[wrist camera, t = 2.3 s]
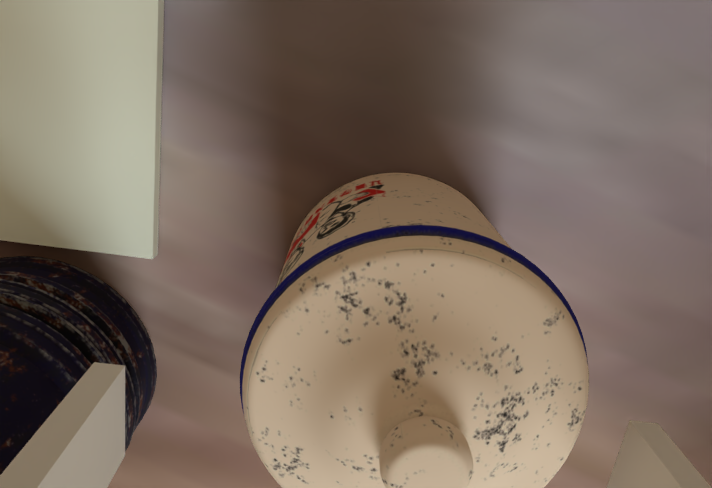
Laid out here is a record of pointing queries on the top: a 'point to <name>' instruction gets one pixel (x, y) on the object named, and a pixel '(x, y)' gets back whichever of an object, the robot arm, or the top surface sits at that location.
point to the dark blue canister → (63, 345)
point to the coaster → (81, 124)
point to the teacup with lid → (411, 350)
